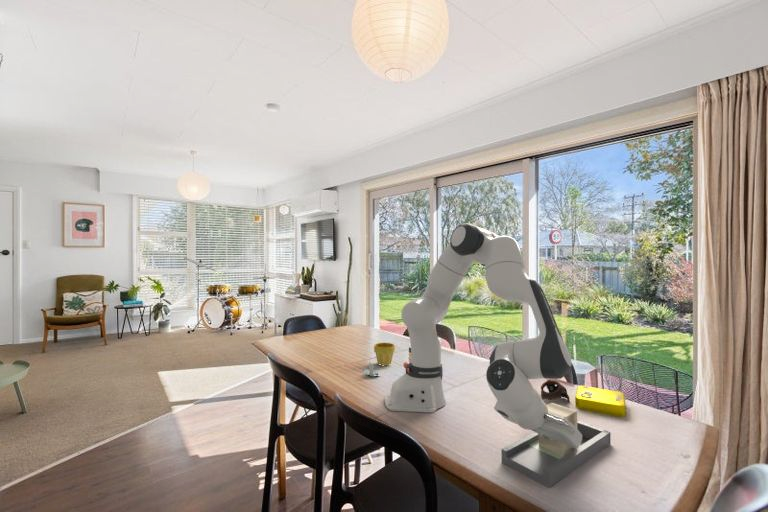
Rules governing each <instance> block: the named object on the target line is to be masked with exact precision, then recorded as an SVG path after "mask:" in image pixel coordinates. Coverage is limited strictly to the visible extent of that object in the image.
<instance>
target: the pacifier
mask: <svg viewBox="0 0 768 512" xmlns="http://www.w3.org/2000/svg"><path fill="white" fill-rule="evenodd" d="M367 367H368V369H367V368H366V369H365V370H364V371H363V372H364V373H363V374H365V375H366V376H368V375H370V376H374V375H377V374H378V373H379V372H378V371H374V369H375V366H374V364H373V363H372V362H369V363H368V366H367Z"/></svg>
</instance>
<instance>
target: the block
mask: <svg viewBox="0 0 768 512" xmlns="http://www.w3.org/2000/svg"><path fill="white" fill-rule="evenodd" d="M546 405H547V408H548V413H550V414H553V415H556V416H559V417H561V418H564V419H566V420H568V421H569V422H571V423H572V424H573V425H574V426H575V427H576V428H577V420H578V411H577V410H575V409H573V408H569V407H566V406H563V405H560V404H557V403H555V402H550V403H548V404H546ZM539 446H541V447H543V448H546V449H548V450H550V451H552V452H554V453H557V454H559V455H561V456H563V457H564V456H565V455H567V454H569V453H570V452H572V451H573V450H575V448H572V447H570V446H567V445H565V444H563V443H560V442H558V441H556V440H554V441H553V442H552V441H550V440H548V439H545V438H543V437H542V436H541V435H540V434H539Z"/></svg>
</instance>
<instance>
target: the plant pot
mask: <svg viewBox="0 0 768 512" xmlns="http://www.w3.org/2000/svg"><path fill="white" fill-rule="evenodd" d="M395 347H396V345H395V344H394V343H391V342H377V343H374V345H373V352H374V353H375V357H376V361H377V365H378V364H381V365H389V364H391V365H392V362H393V361H392V360H393V356H394V353H395V351H396V349H395ZM389 366H390V365H389Z"/></svg>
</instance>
